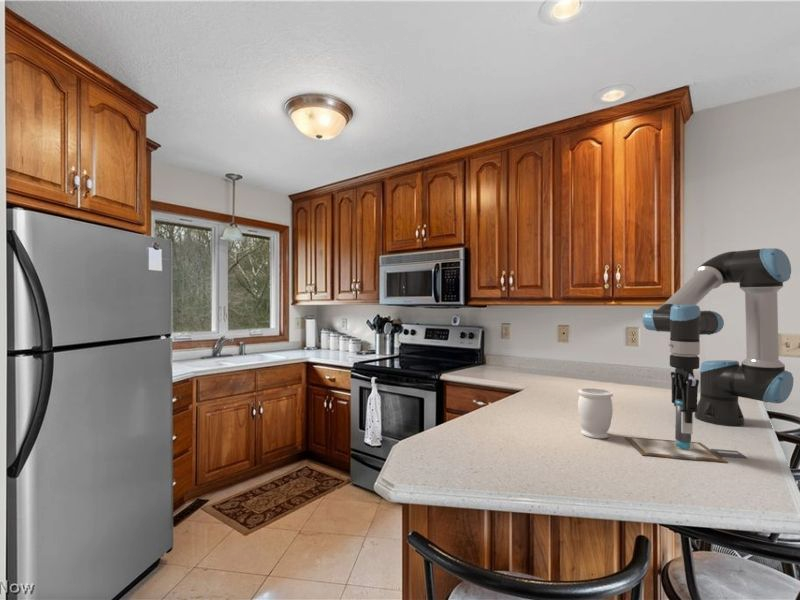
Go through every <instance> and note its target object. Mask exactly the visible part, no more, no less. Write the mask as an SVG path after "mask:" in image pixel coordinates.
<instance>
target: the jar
mask: <svg viewBox="0 0 800 600" xmlns="http://www.w3.org/2000/svg"><path fill="white" fill-rule="evenodd" d="M577 390H578V394H579V397H578V401H577V412H578V418H579V423H580V426H581V431H580V433H581V434H582V435H583V436H585V437H587V438H592V439H598V440H600V439H603V440H605V439H607V438H609V437H610V436H609V433H608V431H609V429H610V428H611V424H612V423H611V422H612V419H613V410H614V409H613V400H612V397H613V392H612V391H609V390H605V389H601V388H600V389H599V388H592V387H591V388H590V387H585V388H578V389H577Z"/></svg>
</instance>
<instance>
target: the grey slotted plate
mask: <svg viewBox="0 0 800 600" xmlns="http://www.w3.org/2000/svg"><path fill="white" fill-rule="evenodd" d="M710 450H712V451H713V452H715V453H716V454H717V455H719V456H720V457H727V458H740V459H747V458H748V457H747V455H744V454H743V453H742V452H739V451H738V450H732V449H731V450H729V449H719V448H710Z"/></svg>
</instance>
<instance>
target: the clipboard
mask: <svg viewBox="0 0 800 600" xmlns="http://www.w3.org/2000/svg"><path fill="white" fill-rule="evenodd" d="M625 439H626V441H628V442H629V444H631V445H632V446H633V448H634V449H635V450H636V451H637V452H638V453H639V454H640V455H641V456H643V457H653V458H655V457H656V458H664V459H665V458H666V459H677V460H689V461H697V462H698V461H700V462H709V463H710V462H712V463H724V464H728V463H729V462H728V461H727V460H726V459H725V458H724V457H723V456H719V455H717V454H716V453H715V452H713V451H712V450H711V448H709V447H708V446H706V445H705V444H703V443H702V442H698V441H697V442H696V441H691V442H690V448H681V447H678V446H676V440H674V439H673V440H672V439H660V438H659V439H658V438H646V437H633V436H625Z"/></svg>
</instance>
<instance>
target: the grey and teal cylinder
mask: <svg viewBox="0 0 800 600" xmlns="http://www.w3.org/2000/svg"><path fill="white" fill-rule="evenodd" d="M675 404H676V424H675V423H674V428H675V431H674V432H675V435H674V438H675V441H676V446H678V447H681V448H690V442H692V434H687V433H681V416H682V412H681V410H683V401H682V399H676V400H675Z"/></svg>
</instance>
